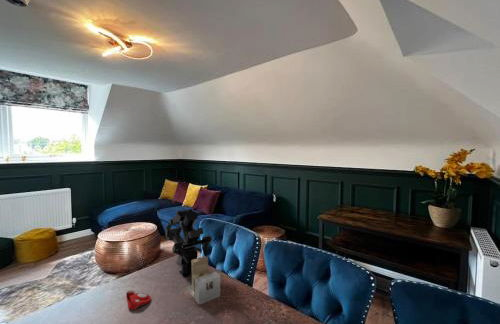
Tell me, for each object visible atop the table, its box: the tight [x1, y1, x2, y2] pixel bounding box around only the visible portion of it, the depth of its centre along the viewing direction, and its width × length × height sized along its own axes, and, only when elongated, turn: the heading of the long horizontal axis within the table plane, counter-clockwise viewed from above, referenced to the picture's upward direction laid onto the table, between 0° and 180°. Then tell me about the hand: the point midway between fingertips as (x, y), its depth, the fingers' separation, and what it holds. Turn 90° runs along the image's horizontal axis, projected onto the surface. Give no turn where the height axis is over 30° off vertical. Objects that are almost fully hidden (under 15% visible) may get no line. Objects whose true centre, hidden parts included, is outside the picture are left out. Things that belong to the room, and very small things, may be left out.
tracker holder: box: [125, 290, 152, 311], centre depth 98 cm, size 12×4×10 cm
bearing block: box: [186, 271, 221, 305], centre depth 105 cm, size 15×10×10 cm
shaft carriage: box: [191, 255, 209, 290], centre depth 105 cm, size 8×7×13 cm
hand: (197, 260), depth 110 cm, fingers open, 9 cm apart
